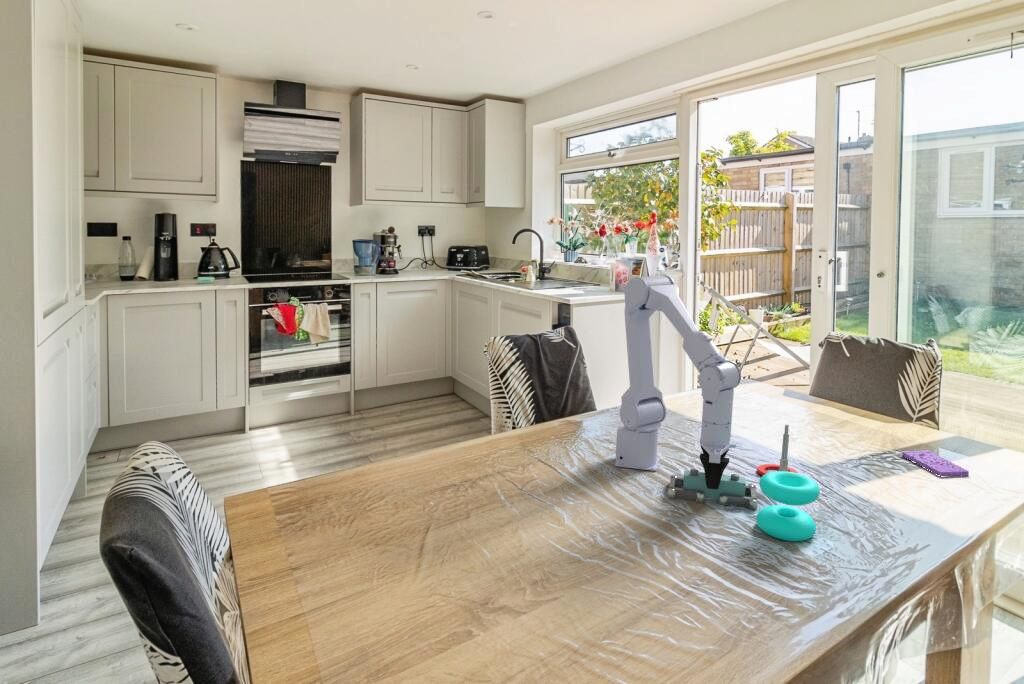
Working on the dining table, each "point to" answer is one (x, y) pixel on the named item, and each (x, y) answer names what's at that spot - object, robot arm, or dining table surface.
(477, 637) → the dining table surface
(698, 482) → the teal studded beam
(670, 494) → the chain end
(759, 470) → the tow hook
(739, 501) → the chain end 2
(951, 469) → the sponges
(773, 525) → the donuts
